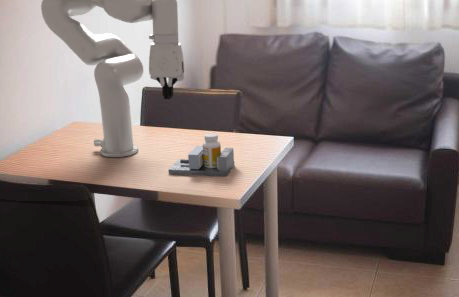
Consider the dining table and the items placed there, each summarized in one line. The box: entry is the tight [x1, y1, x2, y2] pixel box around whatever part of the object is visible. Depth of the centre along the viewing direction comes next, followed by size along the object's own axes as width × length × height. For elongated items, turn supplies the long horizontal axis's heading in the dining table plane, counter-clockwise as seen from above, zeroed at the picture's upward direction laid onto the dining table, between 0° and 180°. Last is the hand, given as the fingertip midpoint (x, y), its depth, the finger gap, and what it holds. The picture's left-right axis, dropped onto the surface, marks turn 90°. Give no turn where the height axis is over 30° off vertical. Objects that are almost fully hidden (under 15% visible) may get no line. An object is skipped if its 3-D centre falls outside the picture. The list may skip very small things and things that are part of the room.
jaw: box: [180, 145, 204, 169], centre depth 208 cm, size 7×9×4 cm
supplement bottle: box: [202, 132, 222, 168], centre depth 206 cm, size 5×5×10 cm
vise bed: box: [168, 147, 235, 178], centre depth 208 cm, size 18×10×6 cm, turn 76°
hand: (168, 98), depth 212 cm, fingers closed
